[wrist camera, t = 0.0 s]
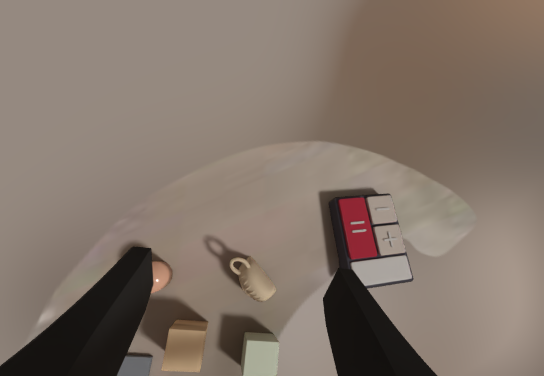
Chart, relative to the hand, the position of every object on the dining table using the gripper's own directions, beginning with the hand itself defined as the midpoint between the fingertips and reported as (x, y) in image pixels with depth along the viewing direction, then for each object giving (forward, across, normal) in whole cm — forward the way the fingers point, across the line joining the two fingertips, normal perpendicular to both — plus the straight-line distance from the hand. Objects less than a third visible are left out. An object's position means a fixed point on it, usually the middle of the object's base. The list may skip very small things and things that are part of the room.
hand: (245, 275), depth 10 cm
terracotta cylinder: (+19, +10, +26) cm, 34 cm away
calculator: (+26, -23, +21) cm, 41 cm away
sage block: (+12, -6, +32) cm, 35 cm away
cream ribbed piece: (+20, -4, +26) cm, 33 cm away
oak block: (+13, +4, +32) cm, 34 cm away
